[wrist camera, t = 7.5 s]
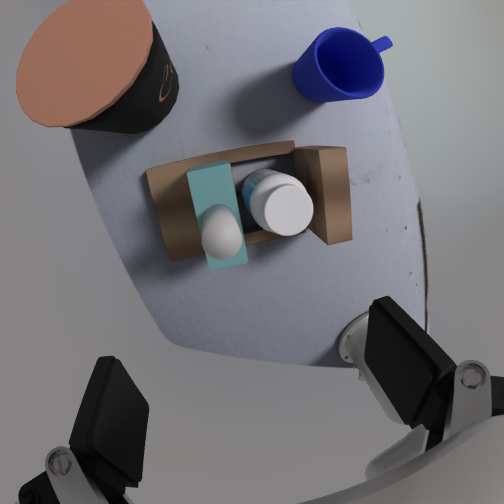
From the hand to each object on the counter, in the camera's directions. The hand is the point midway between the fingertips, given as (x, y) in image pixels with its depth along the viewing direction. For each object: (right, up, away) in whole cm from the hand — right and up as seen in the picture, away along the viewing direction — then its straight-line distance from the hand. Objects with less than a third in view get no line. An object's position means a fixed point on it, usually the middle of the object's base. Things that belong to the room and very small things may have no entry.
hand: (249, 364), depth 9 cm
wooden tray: (-1, +11, +25) cm, 27 cm away
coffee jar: (-14, +23, +18) cm, 32 cm away
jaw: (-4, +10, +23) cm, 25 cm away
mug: (+10, +27, +20) cm, 35 cm away
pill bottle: (+2, +12, +25) cm, 28 cm away
